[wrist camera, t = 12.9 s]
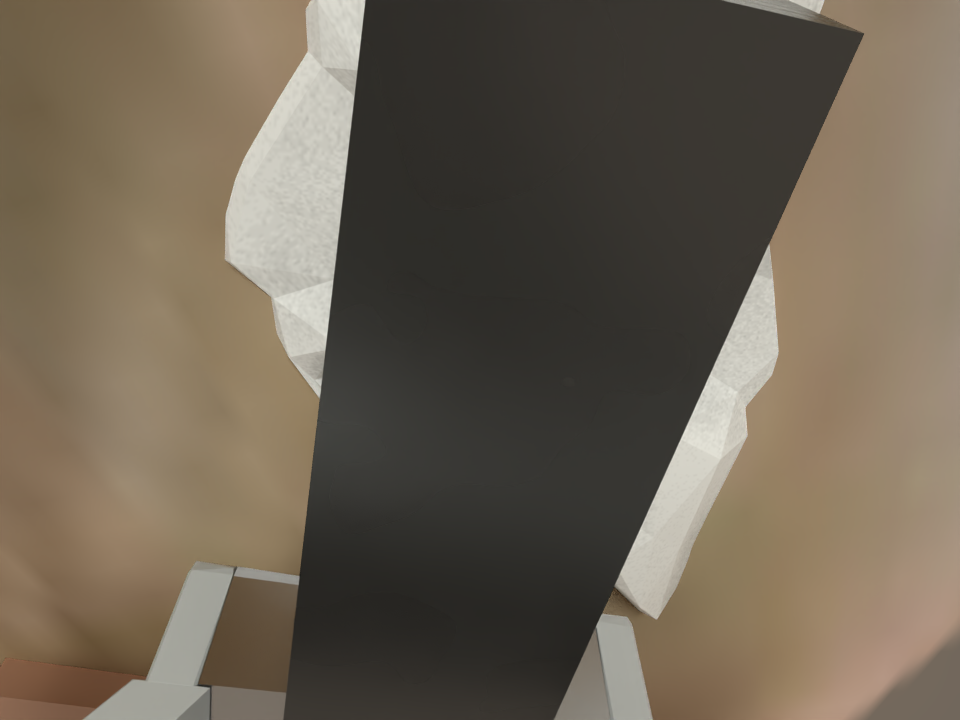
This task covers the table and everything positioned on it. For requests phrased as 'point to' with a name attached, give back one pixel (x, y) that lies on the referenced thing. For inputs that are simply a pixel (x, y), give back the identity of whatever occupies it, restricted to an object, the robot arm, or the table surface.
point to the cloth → (311, 264)
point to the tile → (54, 690)
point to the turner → (529, 324)
